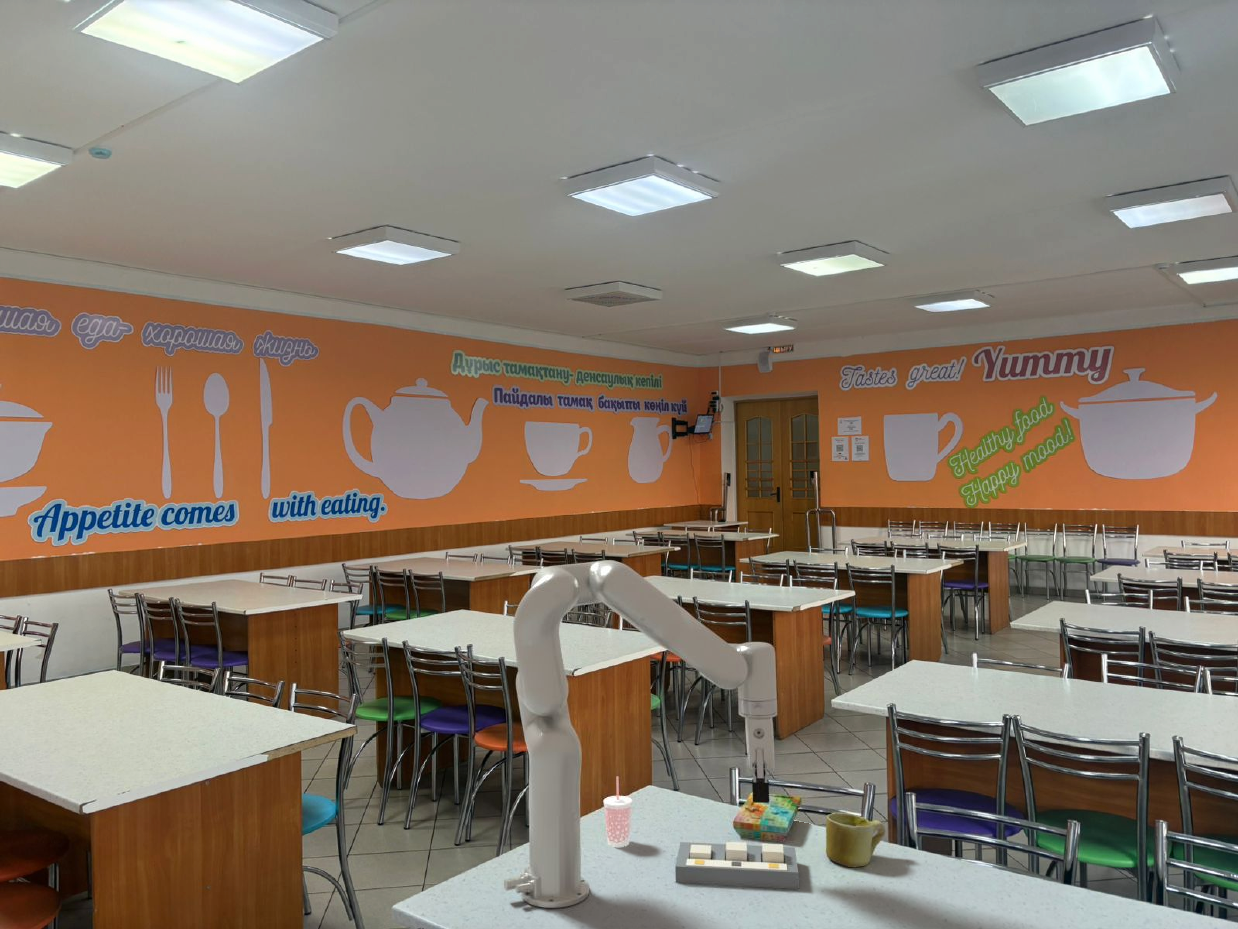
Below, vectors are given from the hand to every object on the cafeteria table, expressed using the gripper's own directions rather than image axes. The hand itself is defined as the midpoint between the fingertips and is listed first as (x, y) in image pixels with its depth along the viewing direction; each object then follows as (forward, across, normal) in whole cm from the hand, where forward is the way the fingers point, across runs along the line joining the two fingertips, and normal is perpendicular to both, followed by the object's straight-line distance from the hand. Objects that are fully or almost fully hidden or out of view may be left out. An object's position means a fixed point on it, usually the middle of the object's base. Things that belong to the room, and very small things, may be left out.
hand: (761, 801), depth 170 cm
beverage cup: (+14, +12, +30) cm, 35 cm away
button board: (+14, 0, +5) cm, 15 cm away
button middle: (+12, 0, +5) cm, 13 cm away
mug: (+14, +9, -19) cm, 25 cm away
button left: (+13, 0, +12) cm, 17 cm away
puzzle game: (+14, +26, -2) cm, 30 cm away
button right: (+12, 0, -2) cm, 12 cm away
